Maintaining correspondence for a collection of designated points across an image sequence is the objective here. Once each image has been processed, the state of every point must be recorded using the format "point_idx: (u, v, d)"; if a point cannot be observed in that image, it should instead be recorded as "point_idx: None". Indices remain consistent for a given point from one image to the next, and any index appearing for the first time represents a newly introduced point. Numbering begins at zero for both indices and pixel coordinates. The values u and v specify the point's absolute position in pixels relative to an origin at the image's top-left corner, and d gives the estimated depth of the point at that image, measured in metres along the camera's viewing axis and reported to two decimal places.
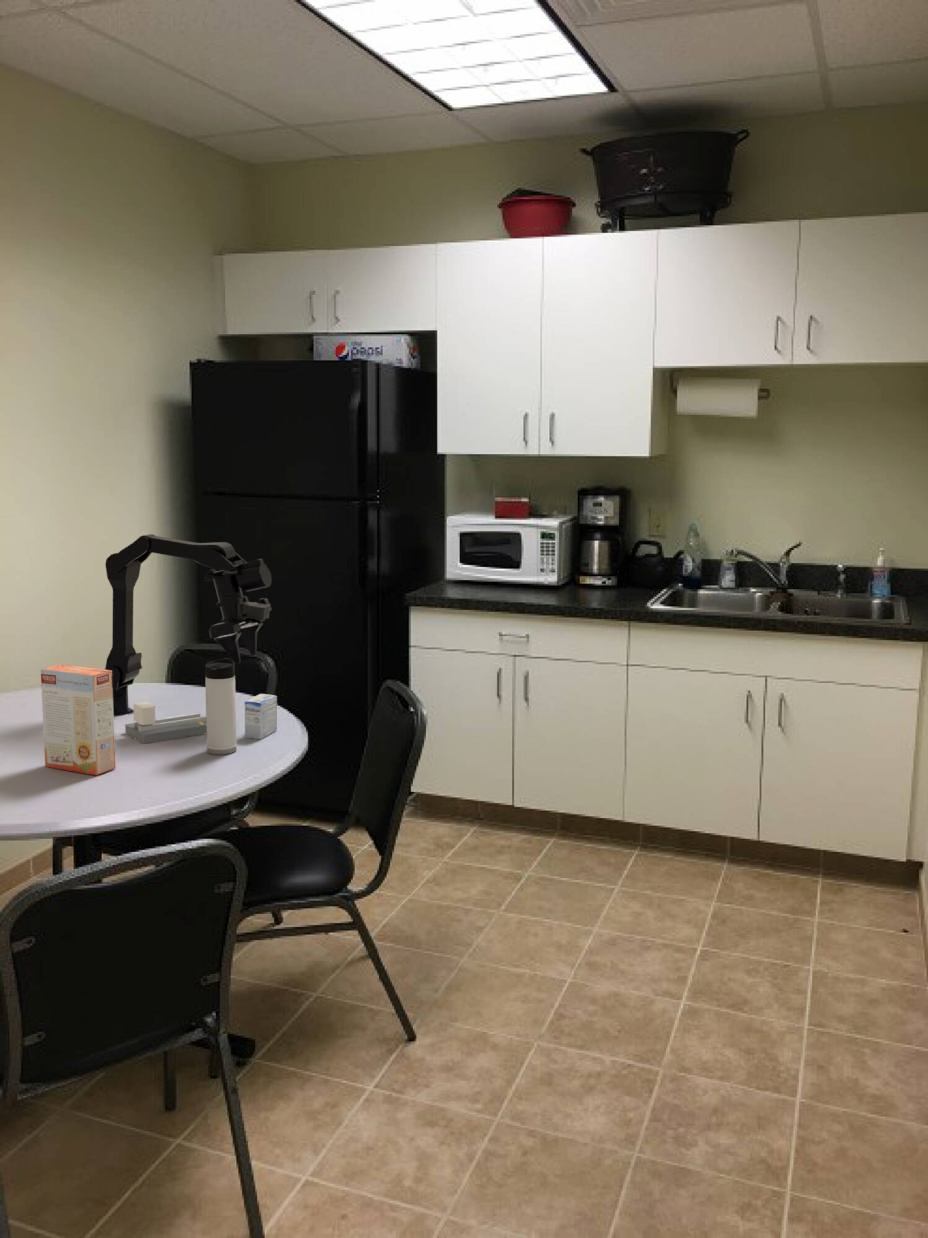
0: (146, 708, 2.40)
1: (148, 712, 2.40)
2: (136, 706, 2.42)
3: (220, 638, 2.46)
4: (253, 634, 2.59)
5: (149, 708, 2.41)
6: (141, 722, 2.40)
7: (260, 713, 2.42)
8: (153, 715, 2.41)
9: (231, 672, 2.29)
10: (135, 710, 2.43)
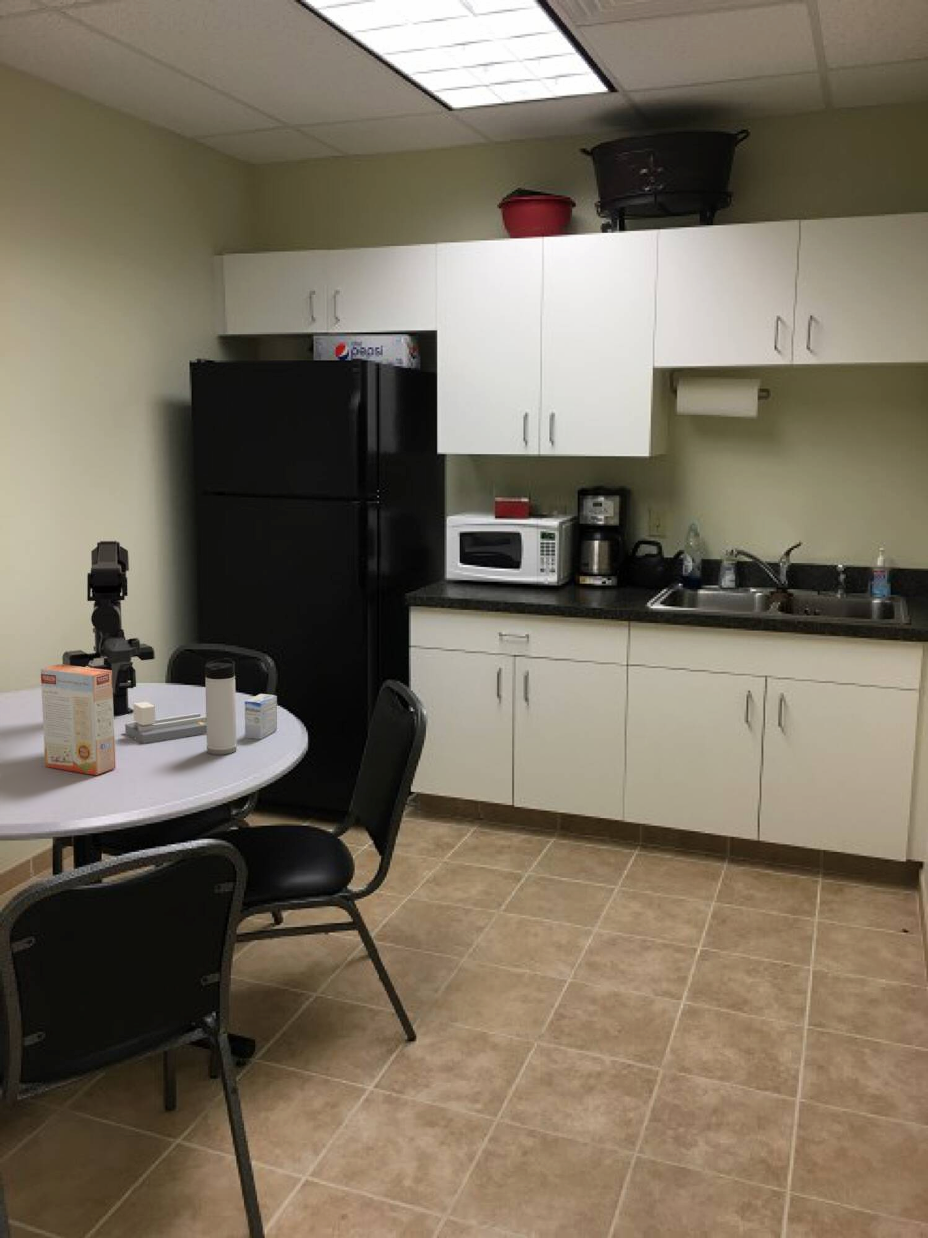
0: (146, 708, 2.40)
1: (148, 712, 2.40)
2: (136, 706, 2.42)
3: (87, 665, 2.34)
4: (117, 672, 2.36)
5: (149, 708, 2.41)
6: (141, 722, 2.40)
7: (260, 713, 2.42)
8: (153, 715, 2.41)
9: (231, 672, 2.29)
10: (135, 710, 2.43)
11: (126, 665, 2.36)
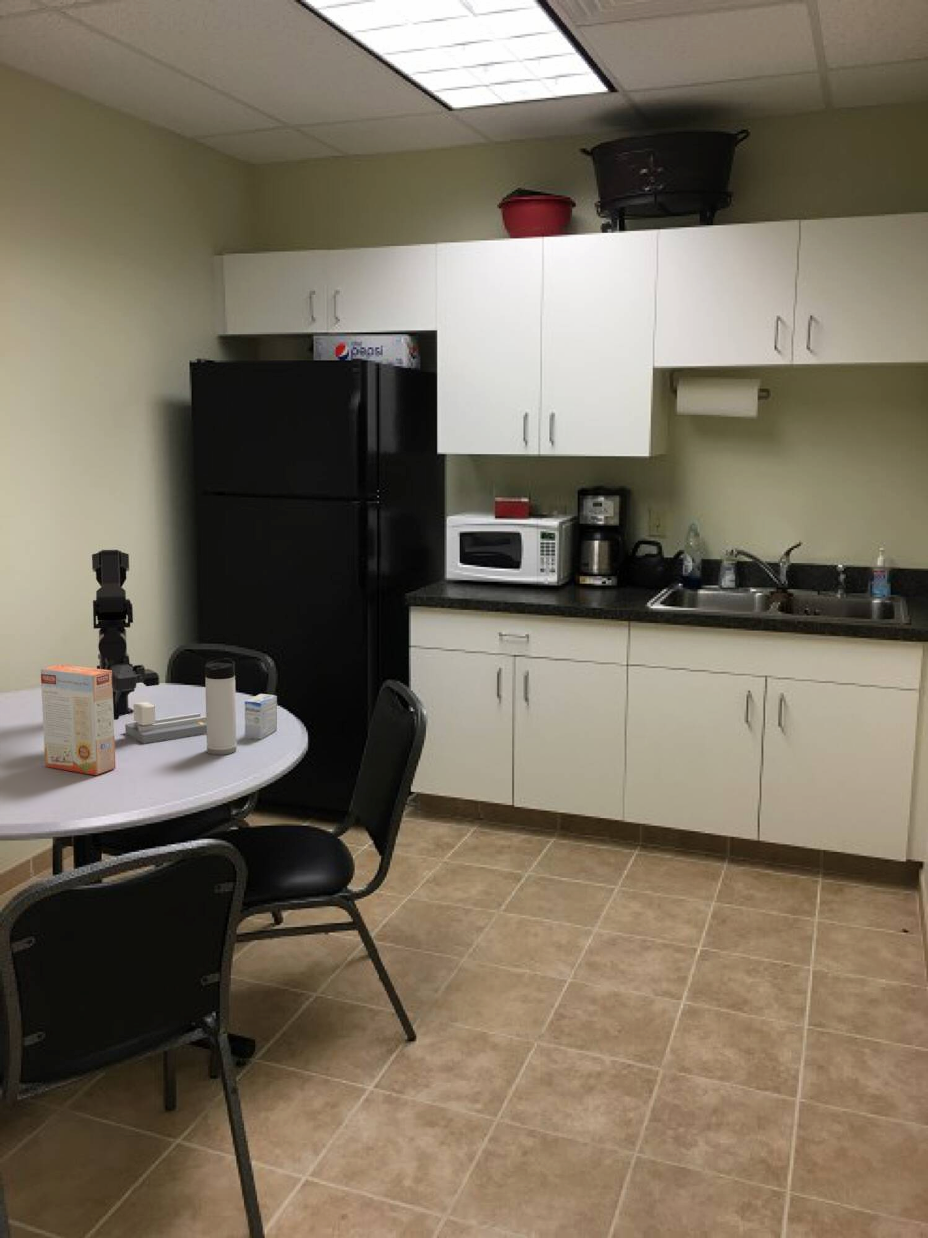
0: (146, 708, 2.40)
1: (148, 712, 2.40)
2: (136, 706, 2.42)
3: None
4: (119, 698, 2.38)
5: (149, 708, 2.41)
6: (141, 722, 2.40)
7: (260, 713, 2.42)
8: (153, 715, 2.41)
9: (231, 672, 2.29)
10: (135, 710, 2.43)
11: (128, 692, 2.37)
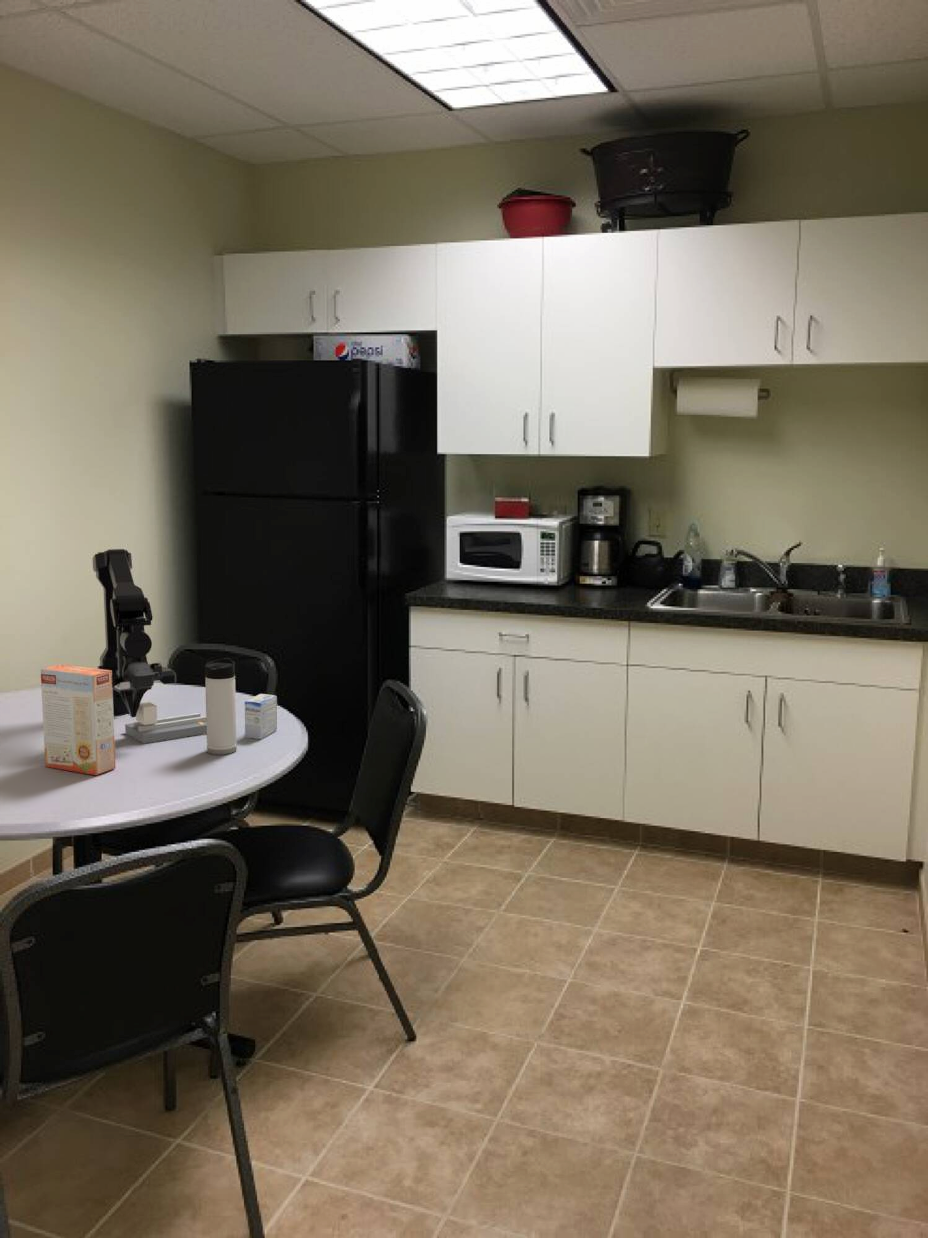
0: (148, 708, 2.40)
1: (150, 712, 2.41)
2: None
3: (114, 688, 2.39)
4: (136, 696, 2.40)
5: (151, 708, 2.41)
6: (143, 722, 2.41)
7: (260, 713, 2.42)
8: (155, 715, 2.42)
9: (231, 672, 2.29)
10: None
11: (145, 689, 2.39)
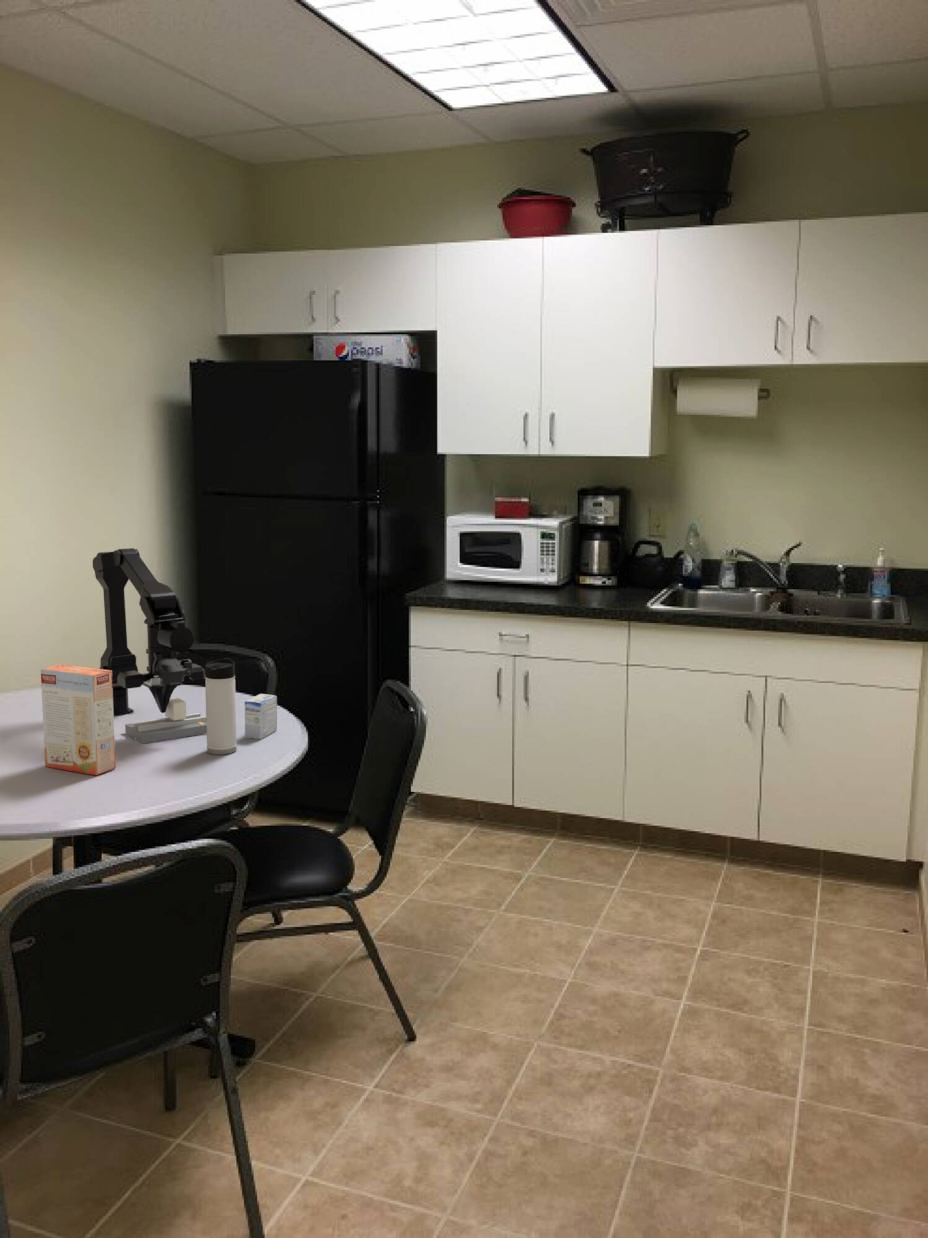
0: (177, 703, 2.45)
1: (179, 707, 2.45)
2: None
3: (144, 684, 2.43)
4: (166, 692, 2.44)
5: (180, 703, 2.45)
6: (173, 717, 2.45)
7: (260, 713, 2.42)
8: (184, 710, 2.46)
9: (231, 672, 2.29)
10: None
11: (175, 685, 2.43)
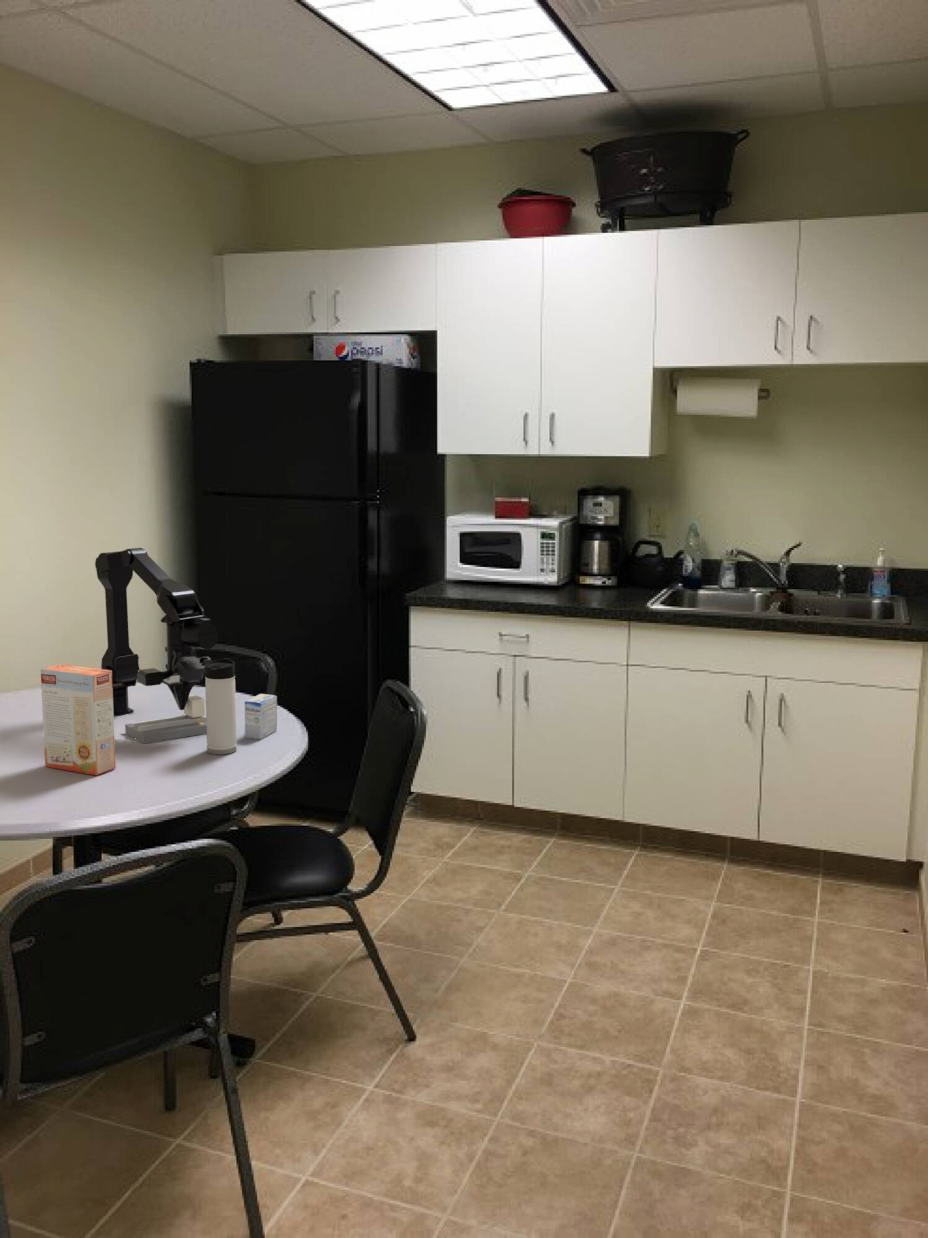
0: (196, 701, 2.47)
1: (198, 705, 2.48)
2: None
3: (164, 682, 2.46)
4: (185, 689, 2.47)
5: (199, 701, 2.48)
6: (191, 714, 2.48)
7: (260, 713, 2.42)
8: (203, 708, 2.49)
9: (231, 672, 2.29)
10: None
11: (194, 683, 2.46)
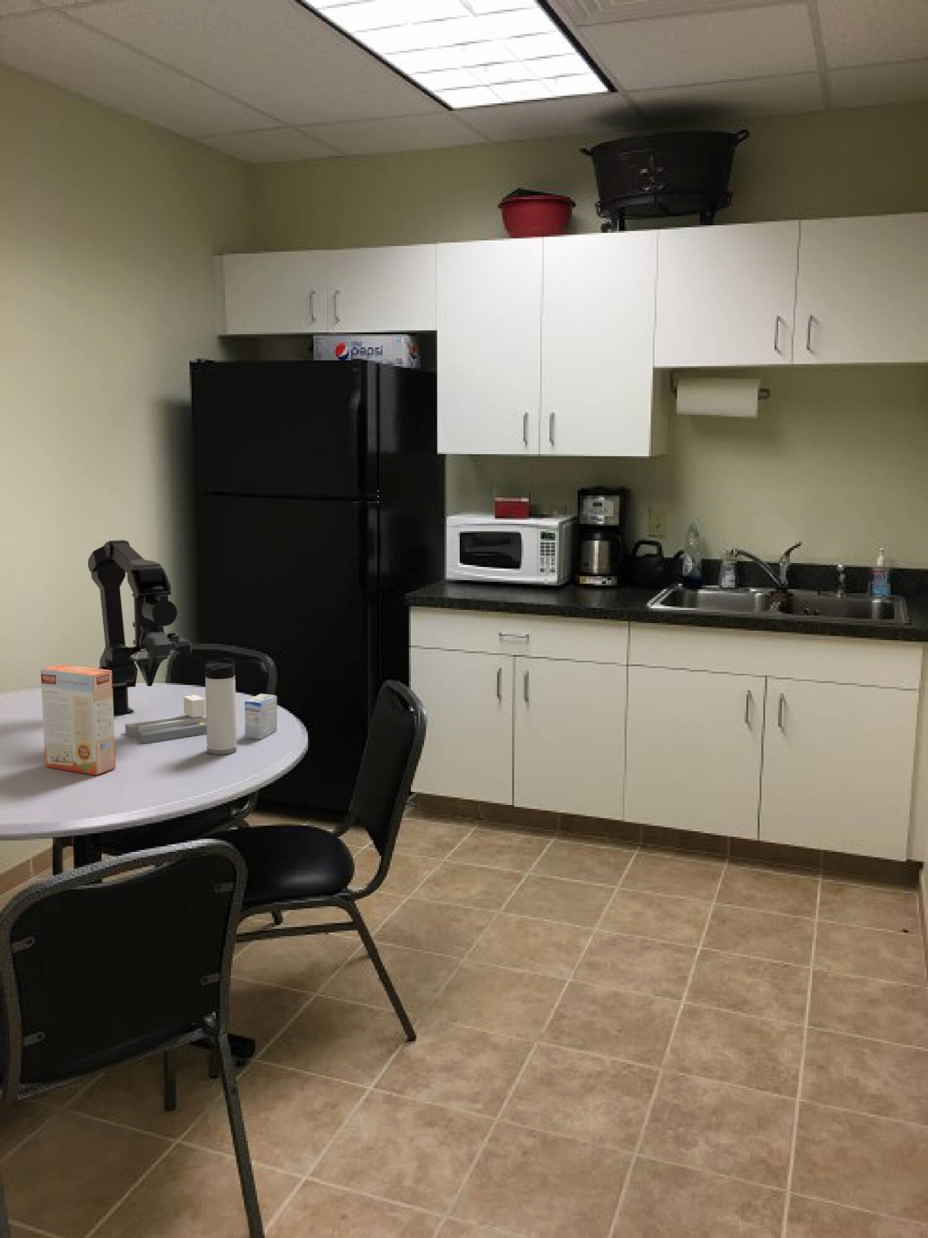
0: (196, 701, 2.47)
1: (198, 705, 2.48)
2: (186, 699, 2.49)
3: (131, 658, 2.43)
4: (153, 665, 2.44)
5: (199, 701, 2.48)
6: (191, 714, 2.48)
7: (260, 713, 2.42)
8: (203, 708, 2.49)
9: (231, 672, 2.29)
10: (185, 703, 2.50)
11: (162, 659, 2.43)
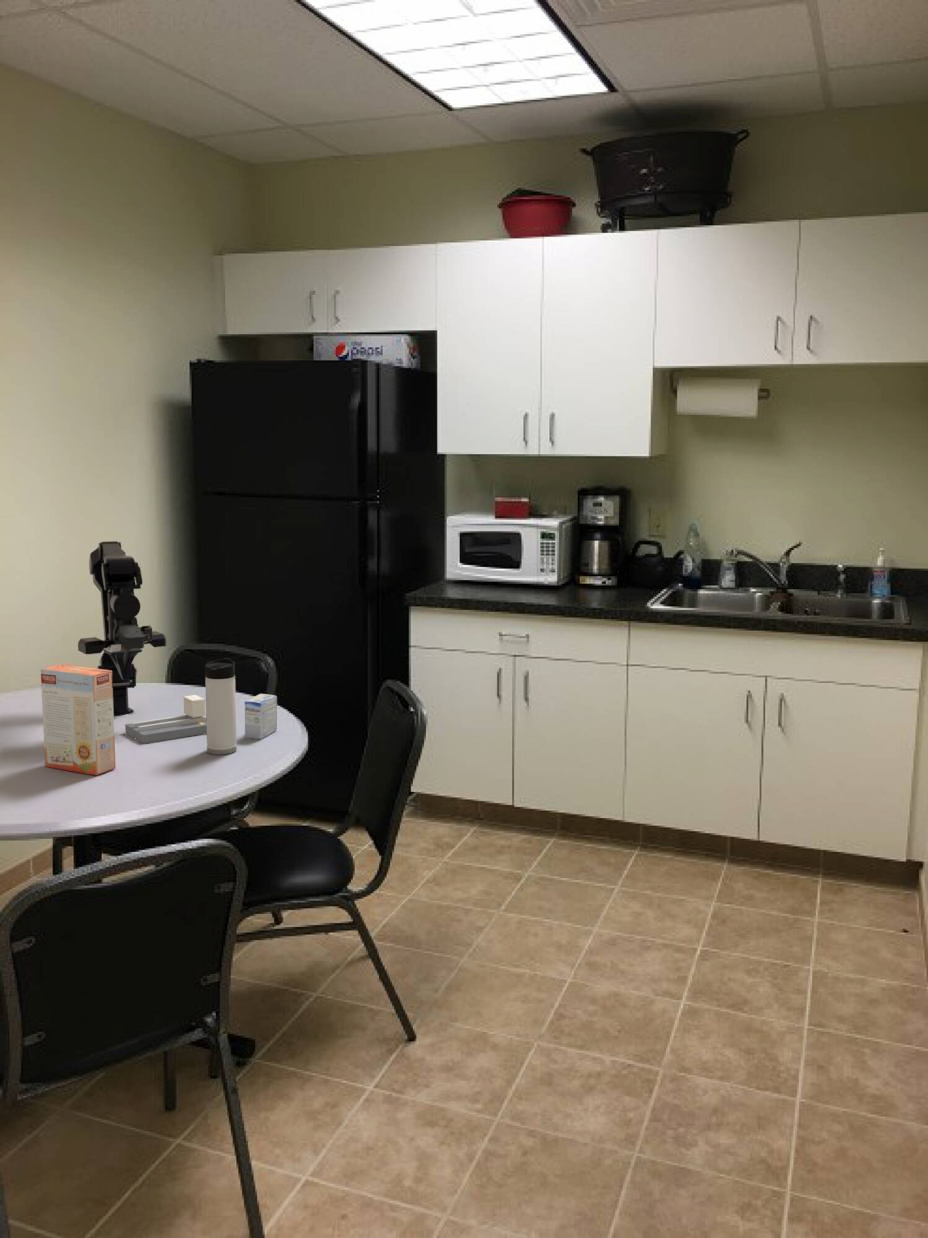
0: (196, 701, 2.47)
1: (198, 705, 2.48)
2: (186, 699, 2.49)
3: (105, 651, 2.44)
4: (127, 658, 2.46)
5: (199, 701, 2.48)
6: (191, 714, 2.48)
7: (260, 713, 2.42)
8: (203, 708, 2.49)
9: (231, 672, 2.29)
10: (185, 703, 2.50)
11: (136, 652, 2.45)
